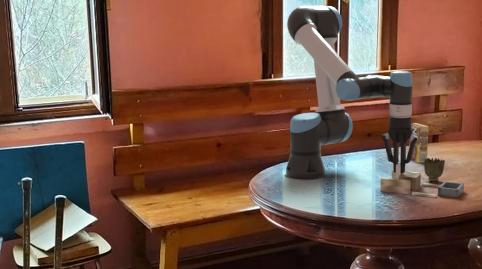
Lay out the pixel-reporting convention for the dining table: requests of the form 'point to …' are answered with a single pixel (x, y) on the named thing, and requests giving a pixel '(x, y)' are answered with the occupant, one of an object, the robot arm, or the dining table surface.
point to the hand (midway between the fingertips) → (398, 181)
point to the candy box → (420, 142)
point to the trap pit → (450, 189)
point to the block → (412, 180)
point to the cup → (433, 168)
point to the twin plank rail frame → (402, 185)
